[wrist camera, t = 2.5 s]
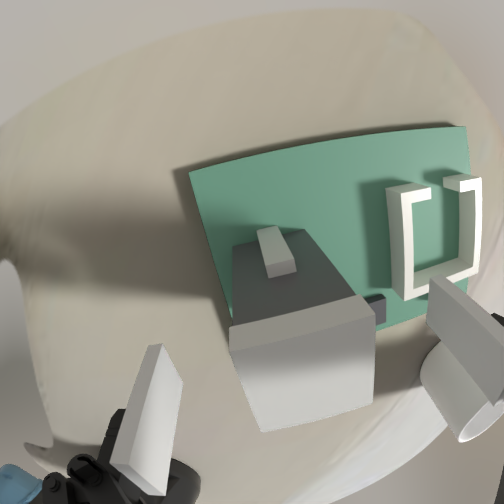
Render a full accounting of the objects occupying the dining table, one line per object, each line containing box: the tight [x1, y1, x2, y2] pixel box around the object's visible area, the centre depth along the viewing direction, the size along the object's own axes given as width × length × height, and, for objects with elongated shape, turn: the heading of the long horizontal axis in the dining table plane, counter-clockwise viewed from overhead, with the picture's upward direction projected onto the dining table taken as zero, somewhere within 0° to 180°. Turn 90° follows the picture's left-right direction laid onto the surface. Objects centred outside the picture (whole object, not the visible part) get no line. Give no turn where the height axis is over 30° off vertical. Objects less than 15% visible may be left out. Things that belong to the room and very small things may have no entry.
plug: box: [229, 225, 376, 433], centre depth 16 cm, size 5×6×11 cm
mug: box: [420, 341, 504, 442], centre depth 22 cm, size 12×8×10 cm
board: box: [189, 126, 471, 331], centre depth 20 cm, size 22×16×3 cm
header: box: [385, 174, 482, 301], centre depth 19 cm, size 8×8×2 cm
